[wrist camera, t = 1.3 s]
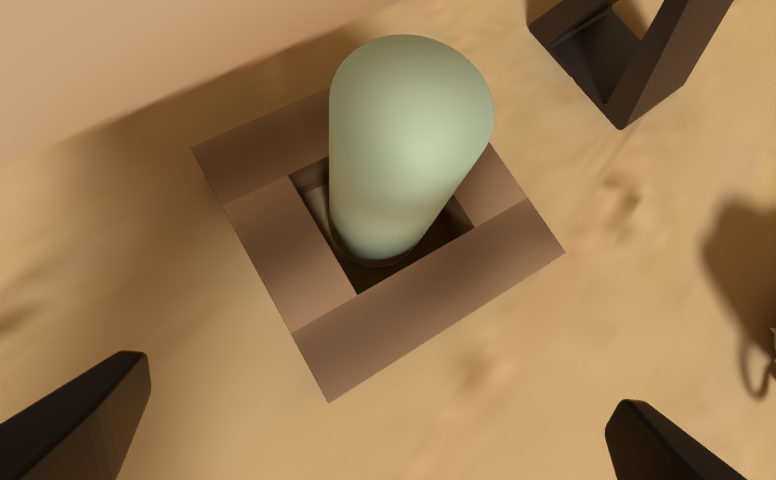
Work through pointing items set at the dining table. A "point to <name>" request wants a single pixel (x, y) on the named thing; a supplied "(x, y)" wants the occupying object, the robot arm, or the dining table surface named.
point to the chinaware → (775, 332)
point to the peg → (400, 142)
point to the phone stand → (628, 51)
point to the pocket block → (323, 272)
